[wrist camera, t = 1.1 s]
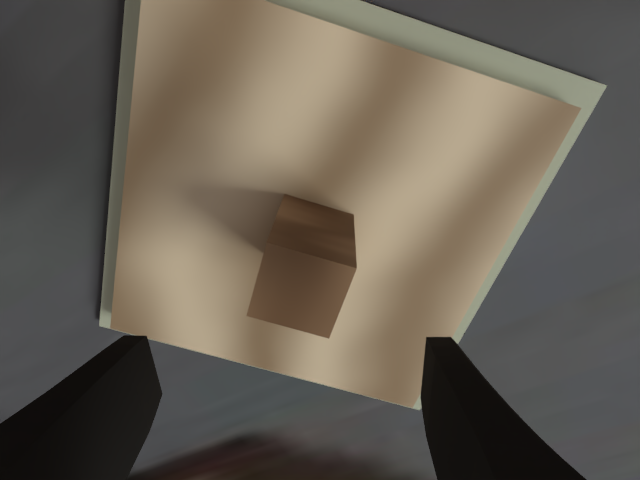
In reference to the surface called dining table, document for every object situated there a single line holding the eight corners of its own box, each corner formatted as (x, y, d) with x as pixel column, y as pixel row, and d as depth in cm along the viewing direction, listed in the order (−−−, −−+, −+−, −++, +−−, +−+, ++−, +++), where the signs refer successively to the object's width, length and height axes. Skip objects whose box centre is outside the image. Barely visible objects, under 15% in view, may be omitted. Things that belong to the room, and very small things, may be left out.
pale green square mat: (601, 84, 16) (606, 85, 16) (418, 404, 24) (419, 410, 24) (136, -77, 15) (131, -80, 14) (103, 321, 22) (99, 325, 22)
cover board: (568, 103, 16) (667, 134, 11) (409, 393, 23) (427, 490, 18) (156, -36, 15) (63, -71, 10) (119, 316, 22) (54, 398, 17)
